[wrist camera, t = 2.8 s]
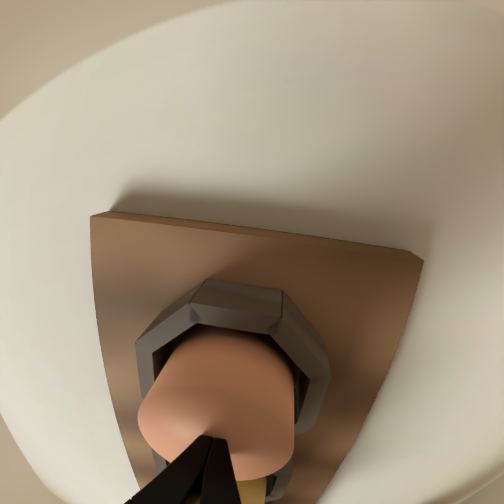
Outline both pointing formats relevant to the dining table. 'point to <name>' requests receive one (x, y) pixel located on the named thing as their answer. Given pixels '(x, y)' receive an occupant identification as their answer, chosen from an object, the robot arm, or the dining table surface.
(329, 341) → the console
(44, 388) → the dining table surface
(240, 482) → the button ochre
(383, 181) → the dining table surface
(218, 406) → the button terracotta
